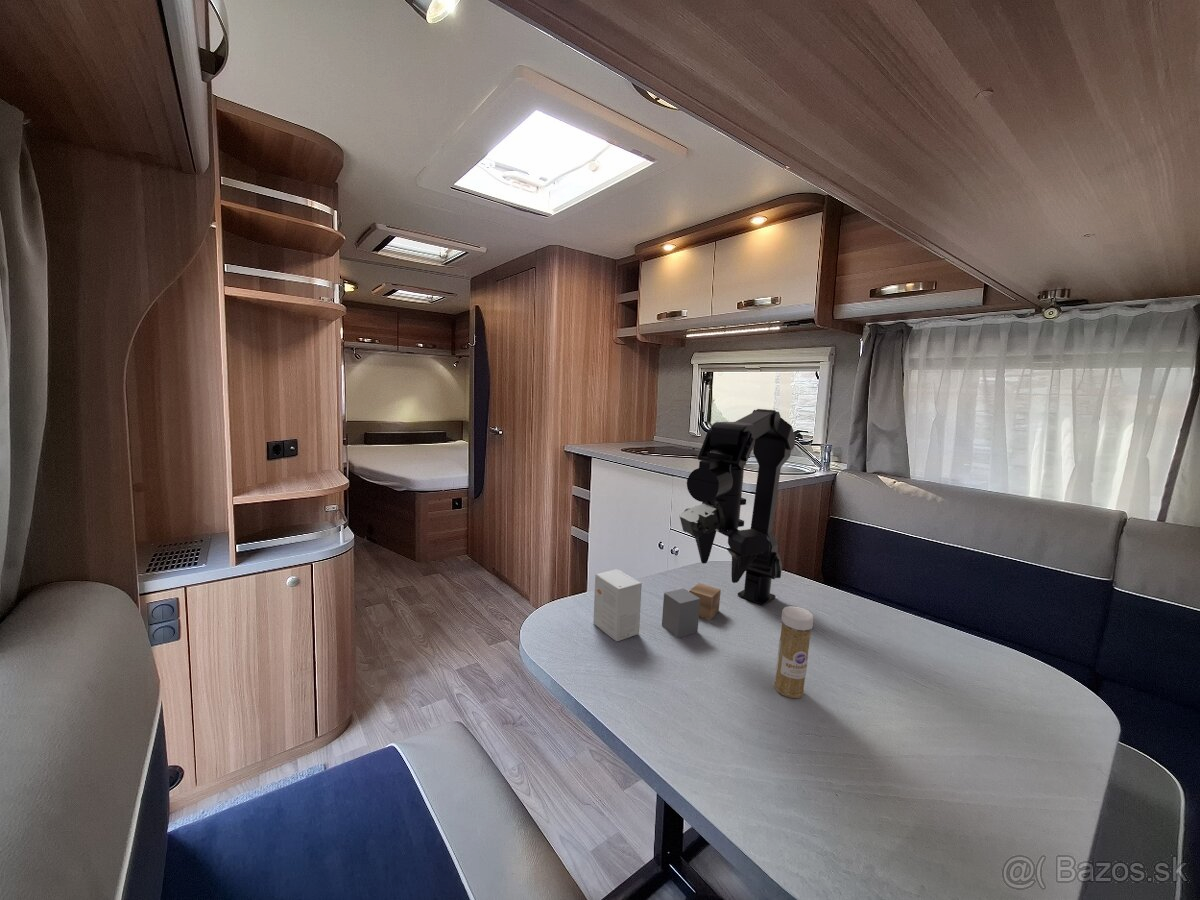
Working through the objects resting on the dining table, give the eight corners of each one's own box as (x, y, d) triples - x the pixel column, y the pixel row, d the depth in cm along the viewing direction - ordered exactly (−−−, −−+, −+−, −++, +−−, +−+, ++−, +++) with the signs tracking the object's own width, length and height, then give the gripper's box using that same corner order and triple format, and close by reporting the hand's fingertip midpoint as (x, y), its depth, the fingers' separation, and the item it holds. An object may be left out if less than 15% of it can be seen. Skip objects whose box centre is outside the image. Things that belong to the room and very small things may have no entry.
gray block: (681, 620, 97) (683, 588, 96) (697, 632, 92) (700, 598, 91) (661, 625, 94) (664, 592, 93) (677, 637, 90) (680, 603, 89)
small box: (639, 635, 90) (643, 583, 89) (616, 642, 87) (619, 589, 86) (615, 616, 97) (617, 568, 95) (592, 623, 94) (595, 573, 92)
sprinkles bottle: (788, 702, 73) (798, 621, 71) (767, 684, 77) (776, 607, 75) (810, 696, 75) (820, 616, 73) (788, 679, 79) (797, 603, 77)
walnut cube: (697, 604, 104) (699, 582, 104) (718, 611, 102) (720, 589, 101) (687, 612, 100) (689, 590, 100) (709, 620, 97) (711, 597, 97)
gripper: (661, 482, 91) (656, 559, 94) (722, 508, 74) (714, 601, 77) (708, 479, 96) (702, 552, 98) (776, 503, 79) (767, 591, 81)
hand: (718, 572), depth 88 cm, fingers open, 9 cm apart
